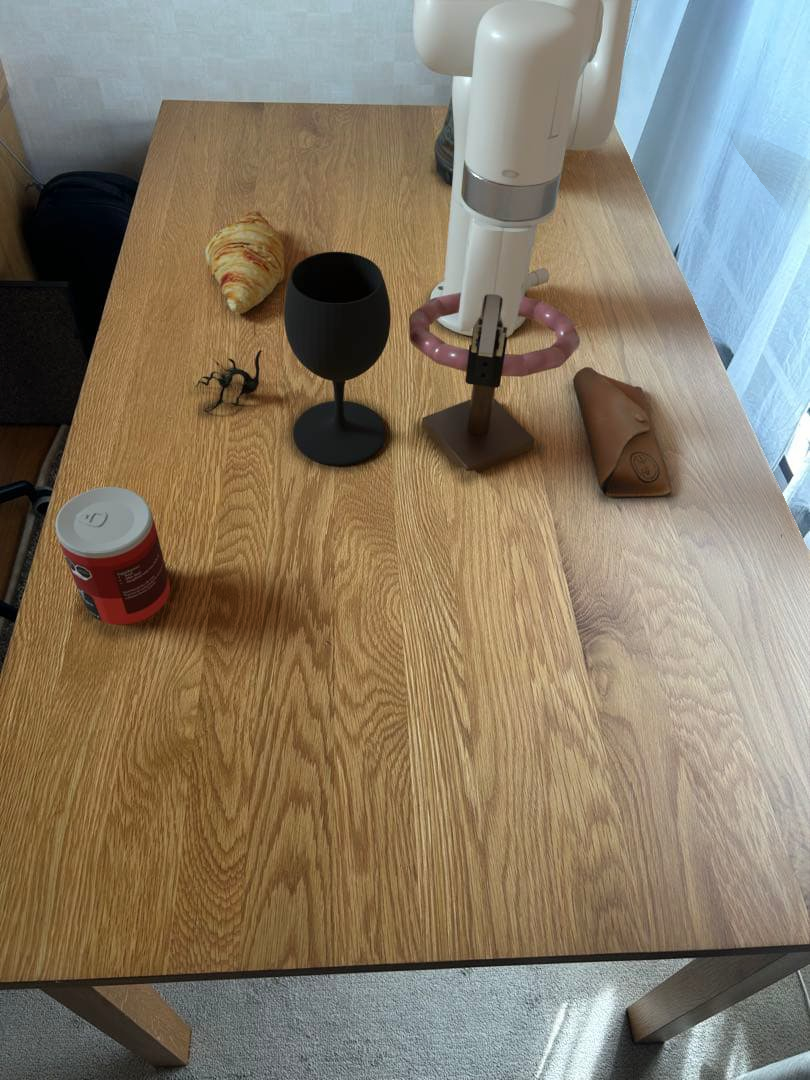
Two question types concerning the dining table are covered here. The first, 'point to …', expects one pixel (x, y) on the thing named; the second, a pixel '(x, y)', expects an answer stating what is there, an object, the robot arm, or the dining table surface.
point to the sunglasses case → (620, 437)
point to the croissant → (246, 261)
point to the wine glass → (337, 350)
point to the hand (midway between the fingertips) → (484, 372)
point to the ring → (512, 362)
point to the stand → (478, 432)
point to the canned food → (114, 554)
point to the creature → (248, 382)
